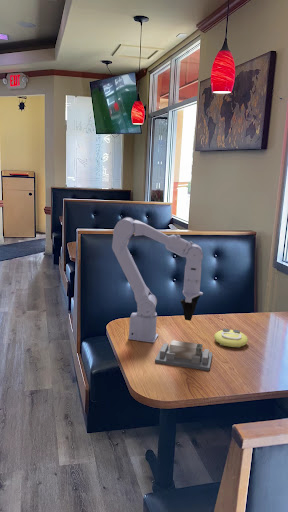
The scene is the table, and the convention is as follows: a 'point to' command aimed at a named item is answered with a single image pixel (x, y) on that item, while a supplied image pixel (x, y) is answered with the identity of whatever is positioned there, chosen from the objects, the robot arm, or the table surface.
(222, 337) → the emoji
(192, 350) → the light grey tapered block
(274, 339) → the table surface
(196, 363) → the cradle
